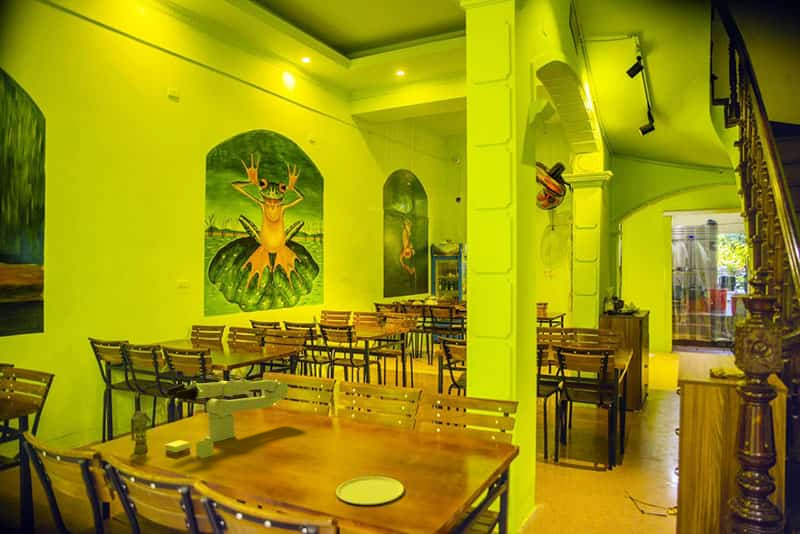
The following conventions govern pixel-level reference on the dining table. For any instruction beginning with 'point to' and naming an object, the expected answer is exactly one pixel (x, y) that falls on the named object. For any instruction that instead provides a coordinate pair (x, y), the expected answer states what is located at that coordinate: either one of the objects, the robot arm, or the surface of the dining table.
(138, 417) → the grenade
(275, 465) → the dining table surface
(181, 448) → the cream slab
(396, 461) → the dining table surface
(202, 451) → the sage block
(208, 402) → the robot arm
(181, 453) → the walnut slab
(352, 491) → the plate
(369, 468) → the dining table surface
